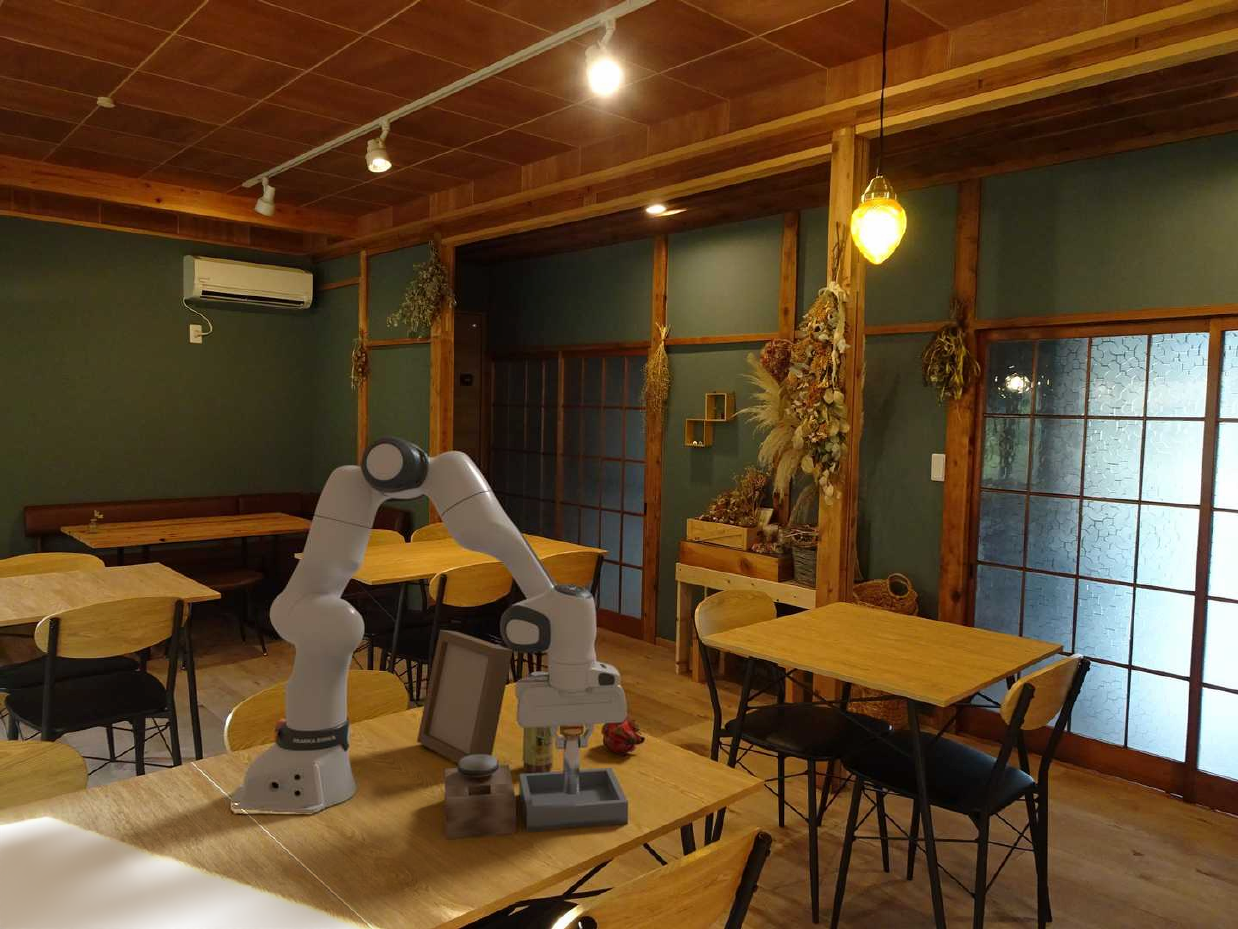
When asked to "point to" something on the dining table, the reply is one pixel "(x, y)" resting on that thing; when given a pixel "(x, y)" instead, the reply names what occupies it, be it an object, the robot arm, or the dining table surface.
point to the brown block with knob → (479, 798)
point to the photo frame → (464, 696)
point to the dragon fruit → (621, 736)
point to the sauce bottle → (538, 746)
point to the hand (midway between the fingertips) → (571, 747)
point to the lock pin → (571, 758)
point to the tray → (572, 801)
